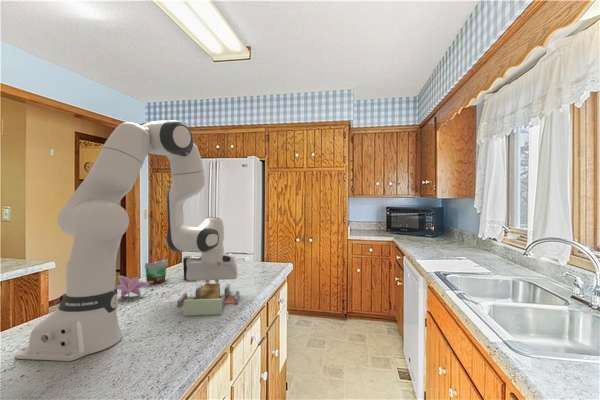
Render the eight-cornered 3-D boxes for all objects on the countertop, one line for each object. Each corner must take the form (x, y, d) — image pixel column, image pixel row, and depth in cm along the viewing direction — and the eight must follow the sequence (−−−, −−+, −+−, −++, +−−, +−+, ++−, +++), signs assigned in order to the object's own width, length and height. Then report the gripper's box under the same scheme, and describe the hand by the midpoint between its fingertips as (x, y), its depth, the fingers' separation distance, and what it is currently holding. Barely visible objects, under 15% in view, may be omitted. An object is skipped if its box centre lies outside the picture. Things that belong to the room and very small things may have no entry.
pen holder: (186, 275, 153) (187, 256, 153) (205, 275, 153) (205, 256, 153) (180, 280, 143) (180, 259, 143) (200, 280, 144) (200, 259, 144)
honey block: (200, 302, 113) (200, 289, 113) (204, 296, 121) (204, 283, 121) (216, 302, 114) (217, 289, 114) (219, 295, 122) (219, 283, 122)
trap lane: (169, 316, 100) (169, 301, 100) (188, 292, 126) (188, 280, 126) (235, 313, 103) (235, 299, 103) (240, 290, 128) (240, 278, 128)
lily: (153, 299, 120) (152, 275, 124) (134, 296, 109) (133, 270, 113) (126, 307, 121) (126, 284, 125) (104, 305, 110) (104, 280, 114)
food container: (156, 286, 134) (156, 264, 134) (144, 285, 135) (144, 263, 135) (173, 279, 146) (173, 258, 146) (162, 278, 147) (162, 258, 147)
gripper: (184, 258, 118) (183, 293, 118) (237, 257, 120) (236, 291, 120) (188, 255, 124) (187, 288, 124) (238, 254, 126) (238, 287, 127)
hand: (212, 290), depth 122 cm, fingers closed
